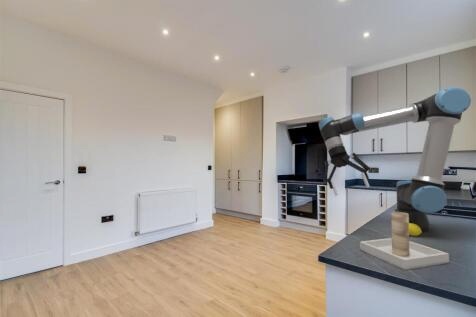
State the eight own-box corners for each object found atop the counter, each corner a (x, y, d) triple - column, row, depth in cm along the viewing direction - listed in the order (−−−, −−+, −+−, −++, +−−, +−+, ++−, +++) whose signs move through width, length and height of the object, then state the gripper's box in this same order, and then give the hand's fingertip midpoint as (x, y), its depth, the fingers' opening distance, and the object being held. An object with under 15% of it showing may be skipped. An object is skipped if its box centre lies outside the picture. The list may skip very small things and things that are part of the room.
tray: (398, 245, 95) (397, 237, 95) (449, 263, 77) (448, 253, 78) (359, 249, 90) (359, 241, 90) (405, 270, 73) (404, 260, 73)
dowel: (399, 250, 87) (398, 211, 87) (413, 255, 82) (412, 214, 82) (388, 252, 86) (387, 212, 86) (401, 257, 81) (400, 215, 81)
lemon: (421, 236, 107) (423, 224, 107) (420, 239, 103) (422, 227, 103) (402, 231, 112) (404, 220, 111) (400, 234, 108) (402, 222, 107)
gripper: (361, 143, 116) (379, 185, 108) (309, 158, 121) (323, 199, 113) (364, 137, 109) (384, 182, 101) (309, 153, 114) (324, 197, 107)
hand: (352, 191), depth 107 cm, fingers open, 13 cm apart
